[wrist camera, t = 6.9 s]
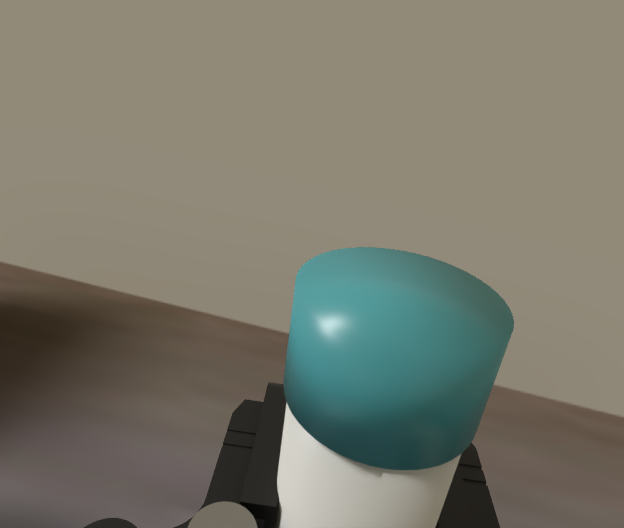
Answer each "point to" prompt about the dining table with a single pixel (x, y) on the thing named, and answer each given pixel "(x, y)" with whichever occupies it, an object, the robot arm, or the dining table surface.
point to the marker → (383, 387)
